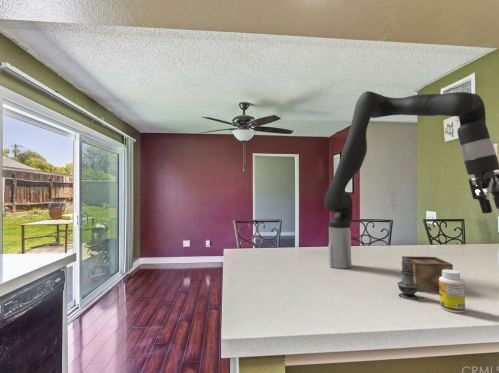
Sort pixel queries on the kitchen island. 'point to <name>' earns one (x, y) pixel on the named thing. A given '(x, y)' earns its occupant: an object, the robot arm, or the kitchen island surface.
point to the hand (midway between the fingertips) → (494, 210)
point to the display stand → (428, 271)
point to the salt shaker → (407, 281)
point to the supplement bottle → (452, 291)
